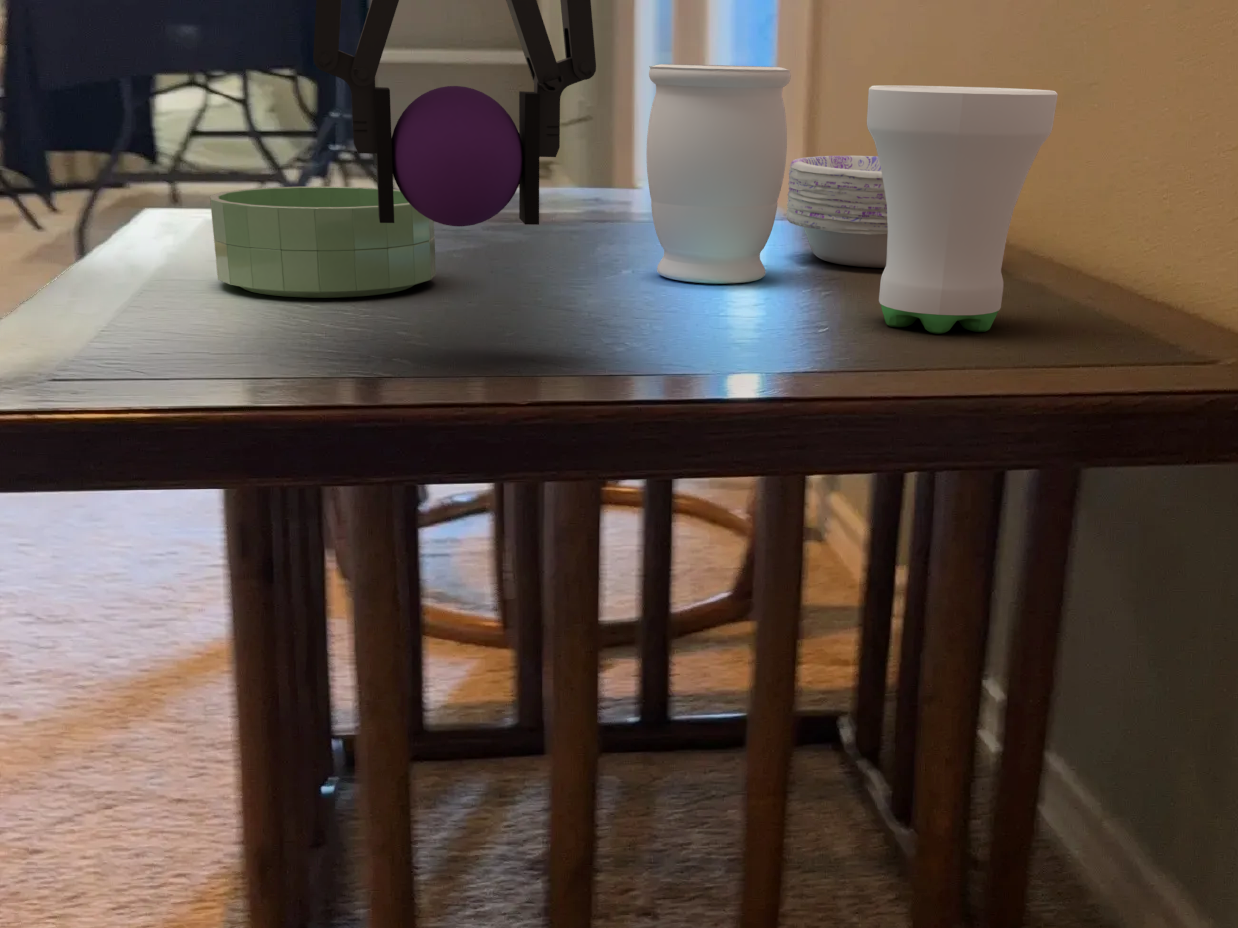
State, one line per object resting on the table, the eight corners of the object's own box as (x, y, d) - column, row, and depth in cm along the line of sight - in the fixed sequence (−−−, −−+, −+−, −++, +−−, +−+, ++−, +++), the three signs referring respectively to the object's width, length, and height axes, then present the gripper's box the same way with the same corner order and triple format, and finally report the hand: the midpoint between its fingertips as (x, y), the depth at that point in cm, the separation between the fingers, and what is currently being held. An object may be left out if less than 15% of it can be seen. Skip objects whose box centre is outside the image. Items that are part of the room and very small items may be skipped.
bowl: (173, 291, 95) (163, 199, 92) (293, 263, 108) (287, 182, 106) (370, 308, 90) (364, 212, 88) (469, 276, 104) (467, 192, 101)
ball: (368, 227, 72) (362, 83, 69) (429, 214, 78) (426, 81, 75) (490, 238, 70) (489, 90, 67) (543, 223, 76) (544, 87, 73)
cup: (1022, 314, 93) (1051, 88, 88) (1031, 345, 83) (1065, 92, 78) (854, 305, 95) (873, 84, 90) (843, 334, 85) (864, 86, 80)
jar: (625, 268, 109) (629, 62, 103) (746, 265, 112) (757, 65, 106) (670, 289, 100) (677, 65, 94) (801, 285, 103) (815, 68, 97)
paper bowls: (932, 280, 107) (943, 172, 104) (754, 262, 114) (759, 161, 110) (989, 258, 119) (1000, 161, 116) (825, 244, 126) (832, 152, 123)
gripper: (225, -323, 60) (264, 227, 69) (672, -286, 63) (653, 231, 73) (237, -287, 66) (271, 209, 76) (641, -256, 70) (627, 214, 79)
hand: (458, 219), depth 74 cm, fingers closed on ball, 7 cm apart
